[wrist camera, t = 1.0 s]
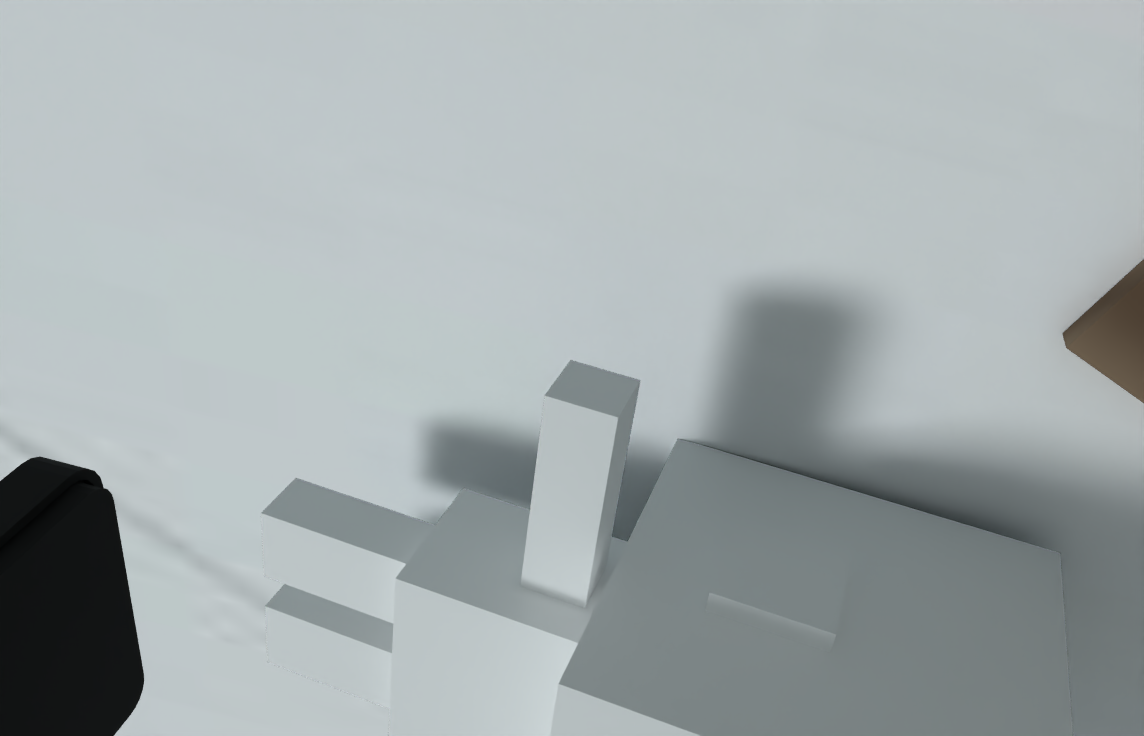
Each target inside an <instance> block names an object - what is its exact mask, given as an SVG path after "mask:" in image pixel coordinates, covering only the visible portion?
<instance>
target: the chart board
mask: <svg viewBox="0 0 1144 736" xmlns="http://www.w3.org/2000/svg"><path fill="white" fill-rule="evenodd" d="M1062 334H1063V338H1064V341H1065V345H1066V348H1067V349H1069V350H1070V351H1071V352H1073V353H1074V354H1076V355H1077V356H1078V357H1080V358H1081V359H1083V360H1084V361H1085V362H1087V363H1088V364H1090V365H1091V366H1092V367H1094V368H1095V369H1097V370H1098V371H1099V372H1101V373H1102V374H1104V375H1105V376H1106V377H1108V378H1109V379H1111V380H1112V381H1113V382H1115V383H1116V384H1118V385H1119V386H1120V387H1122V388H1123V389H1125V390H1126V391H1127V392H1129V393H1130V394H1132V395H1133V396H1134V397H1136V398H1137V399H1139V400H1140V401H1141V402H1143V403H1144V260H1142V261H1141V262H1140V263H1139V264H1138V265H1137V266H1136V267H1135V268H1134V269H1133V270H1131V271H1130V272H1129V273H1128V274H1127V275H1126V276H1125V277H1124V278H1123V279H1122V280H1120V281H1119V282H1118V283H1117V284H1116V285H1115V286H1114V287H1113V288H1112V289H1111V290H1110V291H1108V292H1107V293H1106V294H1105V295H1104V296H1103V297H1102V298H1101V299H1100V300H1099V301H1097V302H1096V303H1095V304H1094V305H1093V306H1092V307H1091V308H1090V309H1089V310H1088V311H1086V312H1085V313H1084V314H1083V315H1082V316H1081V317H1080V318H1079V319H1078V320H1077V321H1075V322H1074V323H1073V324H1072V325H1071V326H1070V327H1069V328H1068V329H1067V330H1066V331H1065V332H1063V333H1062Z"/></svg>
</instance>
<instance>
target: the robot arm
mask: <svg viewBox="0 0 1144 736" xmlns="http://www.w3.org/2000/svg"><path fill="white" fill-rule="evenodd" d="M143 684H144V673H143V667H142V661H141V655H140V650H139V644H138V638H137V632H136V626H135V621H134V615H133V609H132V603H131V597H130V591H129V586H128V580H127V574H126V568H125V562H124V557H123V551H122V545H121V539H120V533H119V527H118V522H117V516H116V510H115V504H114V500H113V497H112V494H111V493H110V492H109V491H108V489H104V488H103V484H102V481H101V478H100V476H99V475H98V474H97V473H96V472H95V471H93V470H89V469H86V468H82V467H78V466H74V465H70V464H67V463H63V462H59V461H55V460H51V459H47V458H43V457H36V458H31V459H29V460H27V461H26V462H24V463H22V464H21V465H20V466H18V467H17V468H16V469H15V470H14V471H12V472H11V473H10V474H9V475H7V476H6V477H5V478H4V479H2V480H1V481H0V736H114V735H115V733H116V732H117V731H118V730H119V728H120V727H121V726H122V725H123V723H124V722H125V721H126V720H127V718H128V717H129V716H130V715H131V713H132V712H133V710H134V709H135V707H136V705H137V703H138V701H139V699H140V696H141V693H142V690H143Z"/></svg>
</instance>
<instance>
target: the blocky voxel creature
mask: <svg viewBox="0 0 1144 736" xmlns="http://www.w3.org/2000/svg"><path fill="white" fill-rule="evenodd" d="M639 385H640V380H638V379H634V378H631V377H628V376H624V375H621V374H617V373H614V372H610V371H607V370H604V369H600V368H597V367H593V366H590V365H586V364H583V363H579V362H576V361H573V360H570V362H569V363H568V364H567V366H566V367H565V368H564V370H563V371H562V373H561V374H560V375H559V377H558V378H557V379H556V381H555V382H554V384H553V385H552V386H551V388H550V389H549V390H548V392H547V393H546V394H545V397H544V405H543V413H542V420H541V428H540V436H539V444H538V452H537V459H536V467H535V475H534V483H533V490H532V498H531V506H530V510H529V509H526V508H523V507H520V506H517V505H514V504H511V503H508V502H505V501H502V500H499V499H496V498H493V497H490V496H486V495H483V494H480V493H477V492H474V491H471V490H468V489H465V488H463V489H462V490H461V492H460V493H459V494H458V496H457V497H456V498H455V500H454V501H453V502H452V504H451V505H450V506H449V508H448V509H447V510H446V512H445V513H444V514H443V516H442V517H441V518H440V520H439V521H438V522H437V524H436V525H434V524H431V523H428V522H425V521H422V520H419V519H416V518H413V517H410V516H407V515H405V514H402V513H399V512H396V511H393V510H390V509H387V508H384V507H381V506H378V505H375V504H372V503H369V502H366V501H363V500H360V499H357V498H354V497H351V496H348V495H345V494H342V493H339V492H337V491H334V490H331V489H328V488H325V487H322V486H319V485H316V484H313V483H310V482H307V481H304V480H301V479H298V478H295V479H294V480H293V481H292V482H291V483H290V484H289V485H288V486H287V487H286V488H285V489H284V490H283V491H282V492H281V493H280V494H279V495H278V496H277V497H276V498H275V499H274V500H273V501H272V503H271V504H270V505H269V506H268V507H267V508H266V509H265V510H264V511H263V512H262V513H261V524H262V547H263V571H264V577H267V578H270V579H272V580H275V581H278V582H281V583H283V584H284V585H283V586H282V587H281V589H280V590H279V591H278V592H277V593H276V594H275V595H274V597H273V598H272V599H271V600H270V601H269V602H268V603H267V604H266V606H265V617H266V641H267V662H268V663H270V664H273V665H276V666H278V667H281V668H283V669H286V670H289V671H291V672H294V673H296V674H299V675H302V676H304V677H307V678H309V679H312V680H314V681H317V682H320V683H322V684H325V685H327V686H330V687H333V688H335V689H338V690H340V691H343V692H346V693H348V694H351V695H353V696H356V697H359V698H361V699H364V700H366V701H369V702H372V703H374V704H377V705H379V706H382V707H385V708H387V709H390V710H389V732H388V736H1073V725H1072V711H1071V696H1070V682H1069V668H1068V653H1067V639H1066V625H1065V610H1064V596H1063V582H1062V567H1061V553H1059V552H1055V551H1052V550H1049V549H1045V548H1042V547H1039V546H1035V545H1032V544H1029V543H1026V542H1022V541H1019V540H1016V539H1012V538H1009V537H1006V536H1002V535H999V534H996V533H992V532H989V531H986V530H982V529H979V528H976V527H972V526H969V525H966V524H962V523H959V522H956V521H952V520H949V519H946V518H942V517H939V516H936V515H932V514H929V513H926V512H923V511H919V510H916V509H913V508H909V507H906V506H903V505H899V504H896V503H893V502H889V501H886V500H883V499H879V498H876V497H873V496H869V495H866V494H863V493H859V492H856V491H853V490H849V489H846V488H843V487H839V486H836V485H833V484H830V483H826V482H823V481H820V480H816V479H813V478H810V477H806V476H803V475H800V474H796V473H793V472H790V471H786V470H783V469H780V468H776V467H773V466H770V465H766V464H763V463H760V462H756V461H753V460H750V459H746V458H743V457H740V456H736V455H733V454H730V453H727V452H723V451H720V450H717V449H713V448H710V447H707V446H703V445H700V444H696V443H692V442H688V441H684V440H681V439H677V441H676V443H675V445H674V447H673V449H672V451H671V453H670V455H669V458H668V460H667V462H666V464H665V466H664V468H663V470H662V472H661V474H660V476H659V478H658V480H657V482H656V484H655V486H654V488H653V490H652V492H651V495H650V497H649V499H648V501H647V503H646V505H645V507H644V509H643V511H642V513H641V515H640V517H639V519H638V521H637V523H636V525H635V527H634V529H633V532H632V534H631V536H630V538H629V540H628V542H627V541H624V540H621V539H618V538H615V537H612V532H613V527H614V521H615V516H616V510H617V505H618V499H619V494H620V489H621V483H622V478H623V472H624V467H625V461H626V456H627V450H628V445H629V439H630V434H631V429H632V423H633V418H634V412H635V407H636V401H637V396H638V390H639Z"/></svg>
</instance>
